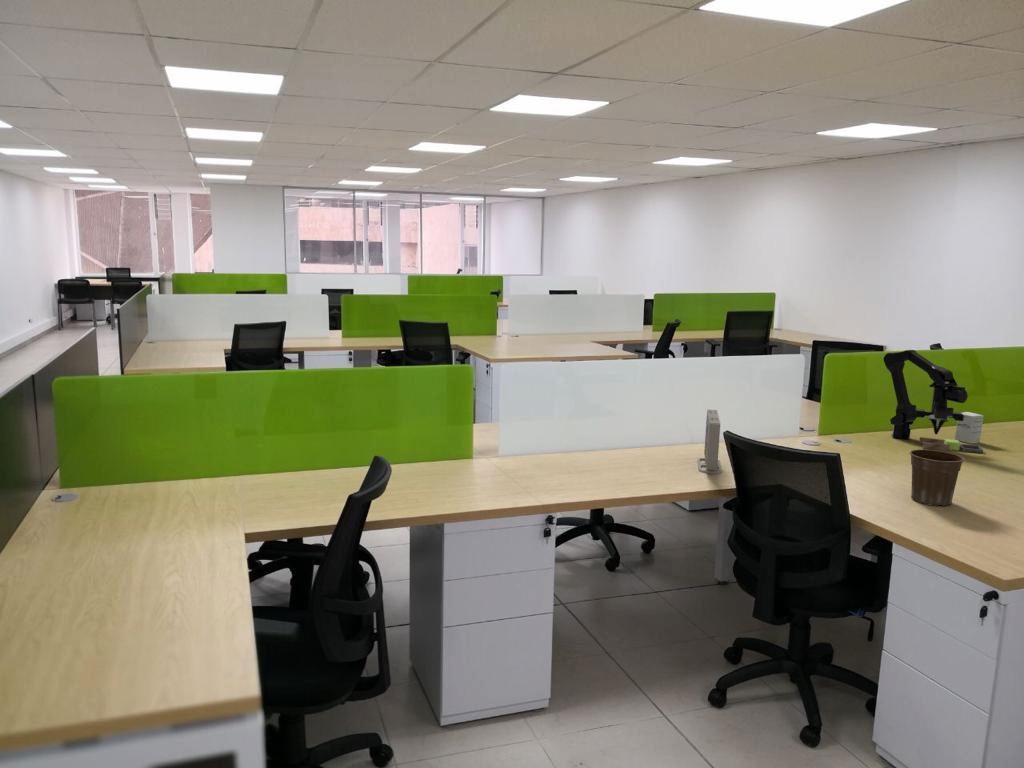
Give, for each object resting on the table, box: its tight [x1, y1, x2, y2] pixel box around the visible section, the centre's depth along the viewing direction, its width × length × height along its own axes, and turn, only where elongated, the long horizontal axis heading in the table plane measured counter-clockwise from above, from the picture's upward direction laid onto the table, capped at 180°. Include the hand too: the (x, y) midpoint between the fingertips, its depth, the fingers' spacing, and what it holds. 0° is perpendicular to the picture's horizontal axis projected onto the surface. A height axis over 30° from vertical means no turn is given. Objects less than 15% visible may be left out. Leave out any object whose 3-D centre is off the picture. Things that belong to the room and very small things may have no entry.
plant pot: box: [909, 448, 965, 507], centre depth 264 cm, size 16×16×16 cm
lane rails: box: [918, 436, 950, 452], centre depth 339 cm, size 10×11×2 cm
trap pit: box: [959, 443, 984, 454], centre depth 334 cm, size 8×8×2 cm
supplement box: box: [954, 411, 984, 445], centre depth 349 cm, size 7×7×13 cm
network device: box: [696, 409, 723, 474], centre depth 300 cm, size 26×9×20 cm, turn 168°
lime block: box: [944, 438, 961, 451], centre depth 337 cm, size 5×5×4 cm
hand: (935, 434), depth 338 cm, fingers closed
